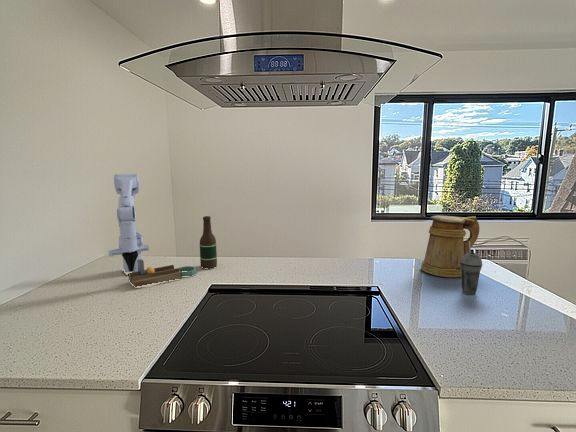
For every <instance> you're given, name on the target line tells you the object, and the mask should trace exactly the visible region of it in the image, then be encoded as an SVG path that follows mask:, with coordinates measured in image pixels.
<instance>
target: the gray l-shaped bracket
mask: <svg viewBox="0 0 576 432" xmlns="http://www.w3.org/2000/svg"><path fill="white" fill-rule="evenodd" d="M137 262H138V276H140V275H145V274H146V269H145V263H144V260H143V259H142V258H141V259H140V260H137Z"/></svg>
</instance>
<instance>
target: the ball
mask: <svg viewBox="0 0 576 432" xmlns="http://www.w3.org/2000/svg"><path fill="white" fill-rule="evenodd" d="M154 268H155V267H153V266H148V267H146V269H145V270H146V274H150V273H154V272H155V270H154Z"/></svg>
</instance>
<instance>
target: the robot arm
mask: <svg viewBox="0 0 576 432" xmlns="http://www.w3.org/2000/svg"><path fill="white" fill-rule="evenodd" d="M113 185H114V188H115V192H116V194H118V195H119V197H118V208H117V209H116V219H117V223H118V227H119V237H118V248H115V249H110V250H108V256H109V257H114V256H119V255H121V256H122V267H123V269H125V272H137V271H138V262H137V260H140V259H142V252H145V251H147V252H148V251H150V246H149V244H145V245H144V239H143V237H144V236H143V234H142V233H141V232H139V231H137V227H136V226H137V225H136V220H137V213H136V212H137V211H136V208H135V195H137V194H139V191H140V179H139V174H138V173H122V174H121V173H118V174H117V173H114V175H113Z"/></svg>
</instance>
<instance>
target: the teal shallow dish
mask: <svg viewBox="0 0 576 432" xmlns="http://www.w3.org/2000/svg"><path fill="white" fill-rule="evenodd" d="M178 268H179V272H180V274H181V276H192V275H194V274H197V267H195V266H191V265H189V266H188V265H185V266H180V267H178ZM182 271H187V272H182ZM194 276H195V275H194ZM192 277H193V276H192Z"/></svg>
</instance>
